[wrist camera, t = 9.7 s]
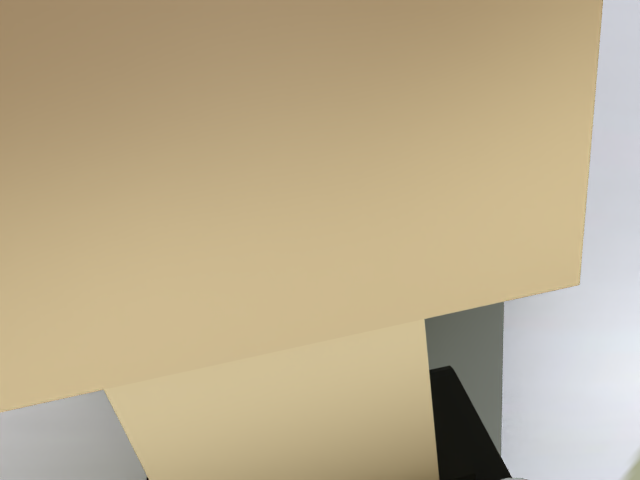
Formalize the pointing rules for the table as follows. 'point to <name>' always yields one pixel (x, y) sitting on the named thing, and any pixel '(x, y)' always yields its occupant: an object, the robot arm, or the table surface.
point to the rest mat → (472, 358)
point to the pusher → (279, 213)
